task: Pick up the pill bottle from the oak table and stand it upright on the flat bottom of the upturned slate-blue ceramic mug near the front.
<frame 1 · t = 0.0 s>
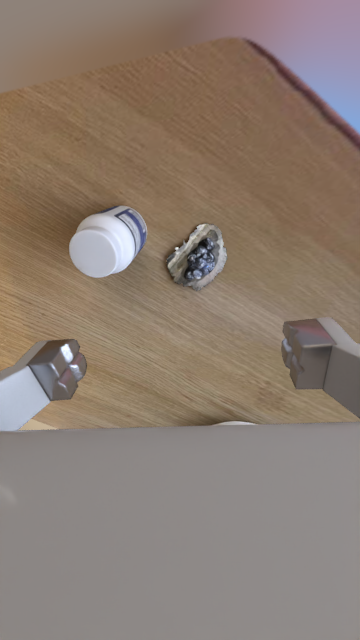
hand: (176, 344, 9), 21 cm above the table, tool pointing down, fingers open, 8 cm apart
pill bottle: (125, 230, 28), on the table
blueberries: (197, 255, 29), on the table
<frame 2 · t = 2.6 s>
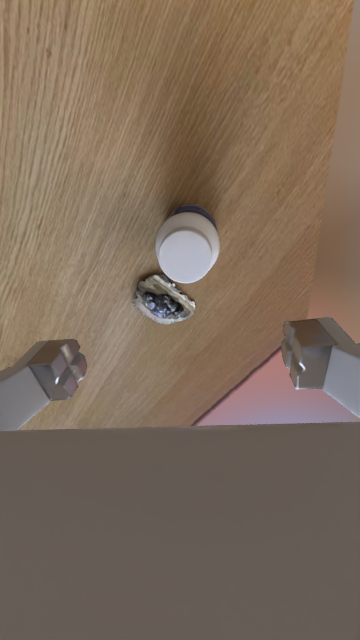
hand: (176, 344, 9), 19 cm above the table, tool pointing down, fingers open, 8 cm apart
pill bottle: (190, 230, 26), on the table
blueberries: (166, 300, 30), on the table
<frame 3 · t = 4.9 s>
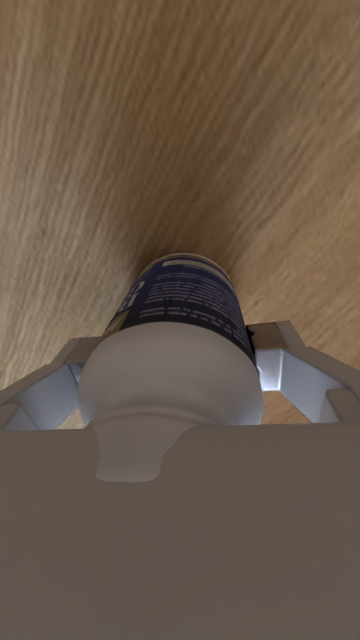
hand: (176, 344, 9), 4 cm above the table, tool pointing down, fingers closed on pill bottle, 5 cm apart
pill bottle: (183, 298, 13), on the table, touching gripper
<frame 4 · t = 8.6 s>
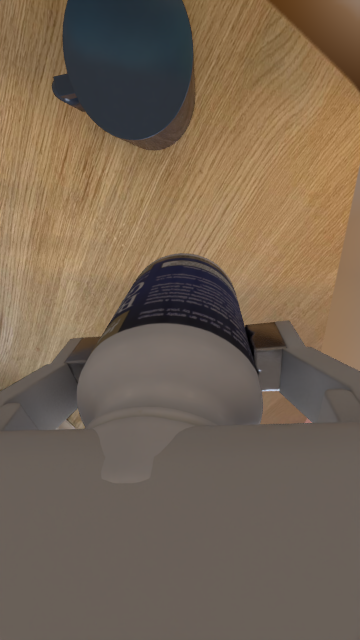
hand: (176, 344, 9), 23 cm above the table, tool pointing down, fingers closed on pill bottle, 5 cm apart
mug: (151, 97, 23), on the table
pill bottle: (183, 299, 13), point 19 cm above the table, touching gripper
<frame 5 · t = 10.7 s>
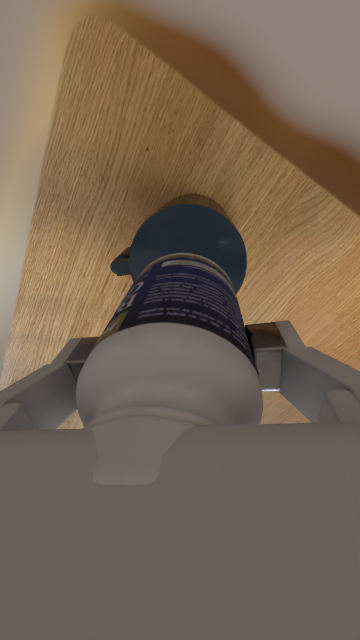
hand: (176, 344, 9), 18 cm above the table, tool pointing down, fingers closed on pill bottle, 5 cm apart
mug: (191, 239, 25), on the table
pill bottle: (183, 299, 13), point 14 cm above the table, touching gripper
when the fingers open (13 cm above the table, at t = 12.5 s): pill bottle stays where it is, resting on mug.
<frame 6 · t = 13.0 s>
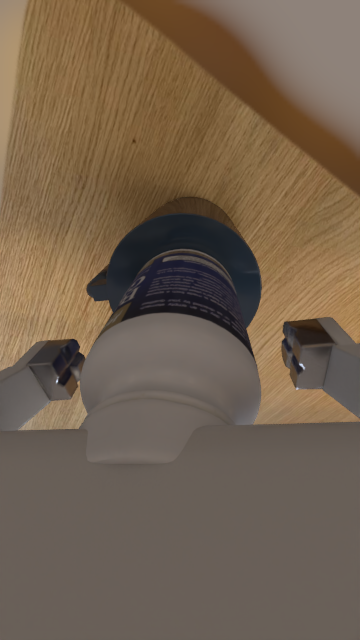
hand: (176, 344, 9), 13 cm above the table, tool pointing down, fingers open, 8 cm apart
mug: (189, 251, 21), on the table, touching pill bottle
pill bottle: (183, 294, 13), point 9 cm above the table, touching mug
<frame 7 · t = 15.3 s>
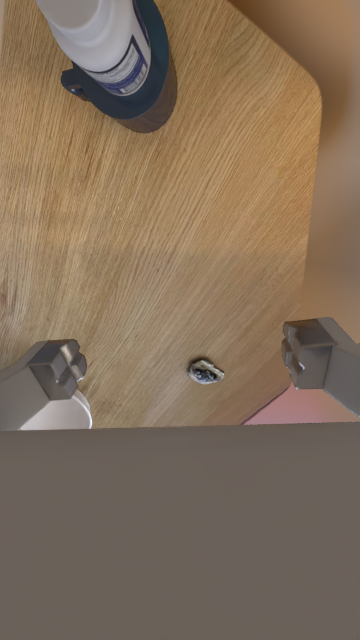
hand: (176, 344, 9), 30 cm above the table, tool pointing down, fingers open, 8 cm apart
bowl: (60, 390, 57), on the table
mug: (141, 87, 28), on the table, touching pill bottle
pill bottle: (120, 55, 20), point 9 cm above the table, touching mug
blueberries: (206, 371, 50), on the table
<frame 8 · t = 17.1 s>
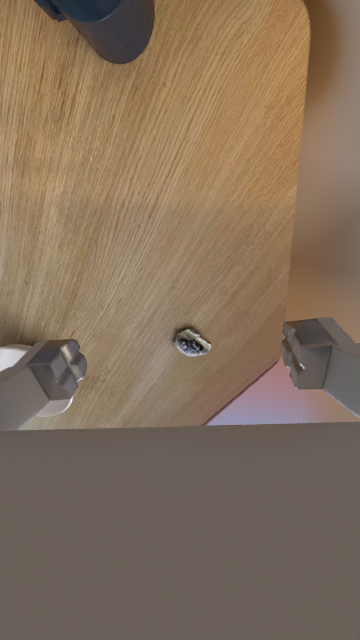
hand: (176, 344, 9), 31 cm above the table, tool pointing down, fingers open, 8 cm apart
bowl: (42, 364, 55), on the table
mug: (116, 9, 26), on the table, touching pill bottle
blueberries: (193, 342, 48), on the table
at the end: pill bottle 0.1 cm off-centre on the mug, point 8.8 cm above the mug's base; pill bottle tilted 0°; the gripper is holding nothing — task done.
